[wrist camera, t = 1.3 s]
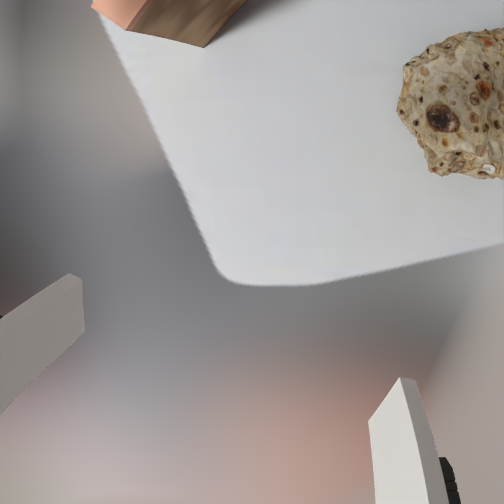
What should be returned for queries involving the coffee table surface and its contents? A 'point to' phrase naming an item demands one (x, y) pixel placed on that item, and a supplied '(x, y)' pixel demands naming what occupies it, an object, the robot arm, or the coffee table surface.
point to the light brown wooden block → (171, 17)
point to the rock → (458, 104)
